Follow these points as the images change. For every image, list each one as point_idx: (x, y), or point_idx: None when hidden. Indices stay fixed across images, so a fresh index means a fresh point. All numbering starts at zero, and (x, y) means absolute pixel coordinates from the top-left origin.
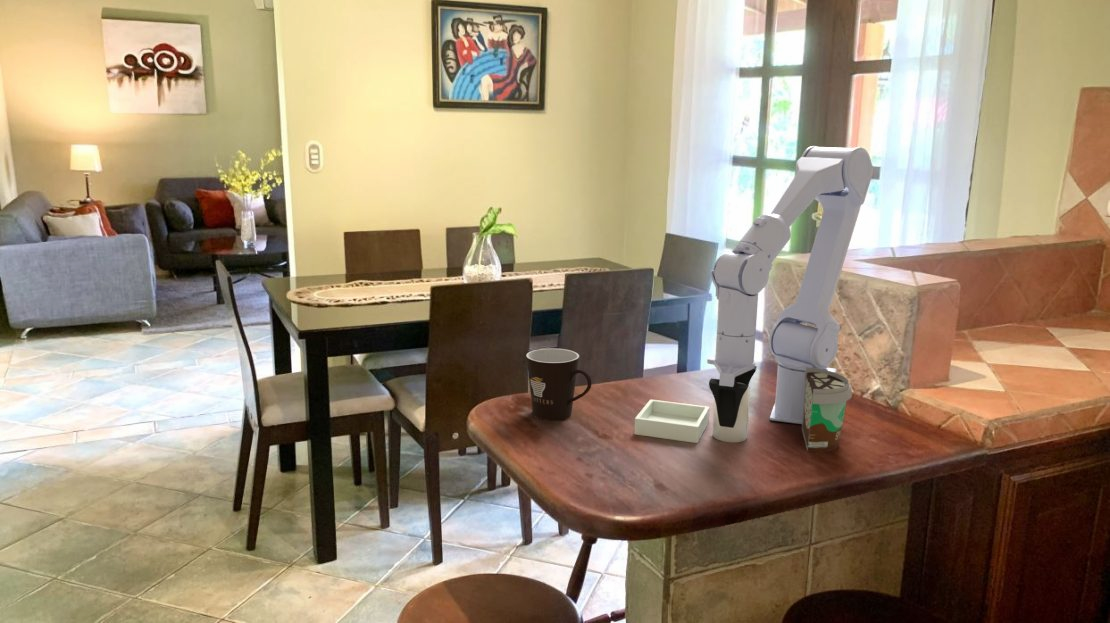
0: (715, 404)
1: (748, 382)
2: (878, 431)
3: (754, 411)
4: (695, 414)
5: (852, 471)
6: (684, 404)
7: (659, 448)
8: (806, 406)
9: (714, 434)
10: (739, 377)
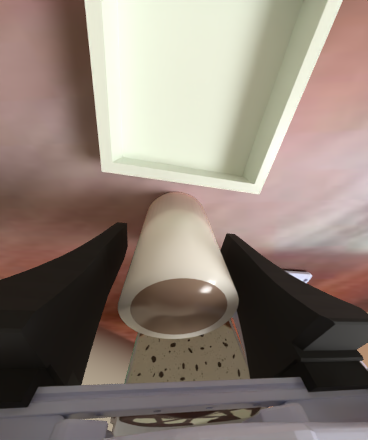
0: (159, 230)
1: (241, 328)
2: None
3: (293, 249)
4: (254, 155)
5: (108, 323)
6: (282, 121)
7: (30, 55)
8: (206, 339)
9: (160, 197)
10: (258, 328)
